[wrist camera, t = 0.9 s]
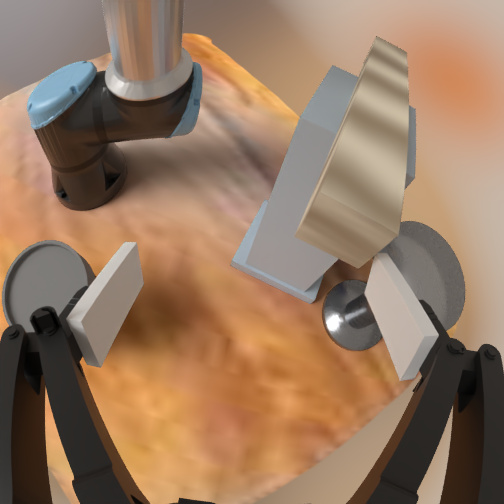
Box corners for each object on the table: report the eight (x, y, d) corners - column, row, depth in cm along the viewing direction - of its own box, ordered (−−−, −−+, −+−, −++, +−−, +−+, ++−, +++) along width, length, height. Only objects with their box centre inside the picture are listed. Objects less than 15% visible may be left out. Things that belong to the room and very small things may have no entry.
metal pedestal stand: (303, 291, 47) (358, 235, 30) (368, 266, 51) (432, 212, 34) (336, 371, 42) (413, 355, 25) (399, 336, 46) (477, 305, 30)
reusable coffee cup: (43, 301, 39) (-7, 266, 25) (105, 269, 43) (72, 220, 30) (69, 374, 35) (16, 364, 22) (137, 340, 40) (107, 317, 26)
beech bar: (358, 268, 16) (398, 234, 12) (294, 236, 16) (320, 192, 12) (393, 76, 28) (406, 52, 25) (364, 60, 28) (376, 36, 25)
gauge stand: (310, 303, 46) (433, 195, 20) (230, 265, 47) (273, 109, 20) (332, 240, 52) (430, 116, 26) (262, 205, 53) (316, 56, 26)
